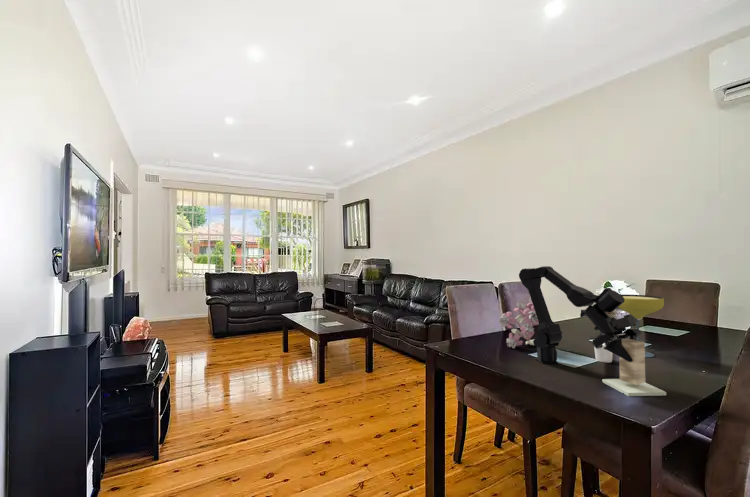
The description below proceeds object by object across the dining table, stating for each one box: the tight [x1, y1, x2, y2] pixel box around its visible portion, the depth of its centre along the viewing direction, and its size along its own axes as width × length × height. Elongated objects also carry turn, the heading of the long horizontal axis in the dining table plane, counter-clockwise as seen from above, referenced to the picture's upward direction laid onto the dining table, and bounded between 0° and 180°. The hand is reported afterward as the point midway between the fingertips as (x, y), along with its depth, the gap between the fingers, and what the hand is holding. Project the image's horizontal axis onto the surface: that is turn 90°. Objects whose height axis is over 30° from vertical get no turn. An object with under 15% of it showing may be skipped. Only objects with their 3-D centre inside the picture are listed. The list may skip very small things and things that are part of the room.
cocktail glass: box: [617, 294, 665, 359], centre depth 154 cm, size 18×18×25 cm
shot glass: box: [593, 343, 614, 363], centre depth 146 cm, size 7×7×7 cm
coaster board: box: [601, 378, 667, 397], centre depth 115 cm, size 12×12×1 cm
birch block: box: [618, 339, 646, 385], centre depth 115 cm, size 5×5×13 cm
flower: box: [497, 296, 539, 349], centre depth 170 cm, size 20×22×25 cm
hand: (636, 360), depth 114 cm, fingers closed on birch block, 5 cm apart
